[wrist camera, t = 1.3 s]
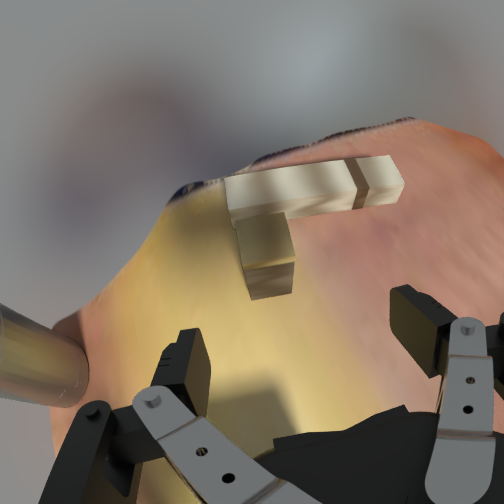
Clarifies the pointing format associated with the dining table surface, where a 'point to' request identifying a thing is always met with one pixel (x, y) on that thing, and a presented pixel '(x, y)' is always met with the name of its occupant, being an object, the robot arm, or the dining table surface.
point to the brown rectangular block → (266, 255)
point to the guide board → (314, 188)
